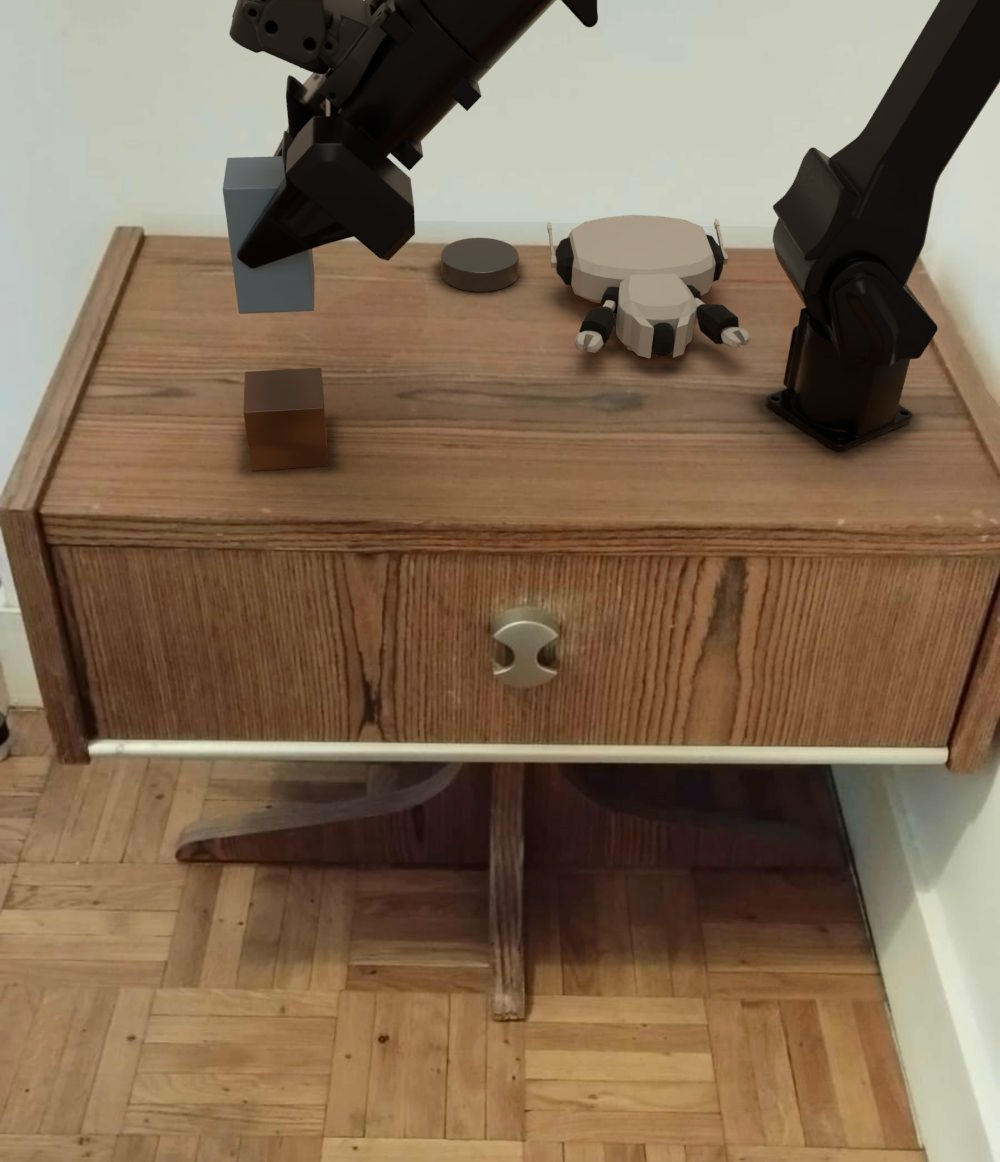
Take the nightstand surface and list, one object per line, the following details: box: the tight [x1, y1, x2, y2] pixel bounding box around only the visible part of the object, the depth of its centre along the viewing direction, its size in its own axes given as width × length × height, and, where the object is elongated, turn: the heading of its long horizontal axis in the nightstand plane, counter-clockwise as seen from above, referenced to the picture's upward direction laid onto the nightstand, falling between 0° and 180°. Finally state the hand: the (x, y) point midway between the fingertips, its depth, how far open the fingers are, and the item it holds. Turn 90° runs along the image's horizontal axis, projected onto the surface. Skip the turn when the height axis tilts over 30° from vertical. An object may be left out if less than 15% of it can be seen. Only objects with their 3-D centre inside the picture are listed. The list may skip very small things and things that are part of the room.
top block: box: [222, 155, 315, 315], centre depth 68 cm, size 4×4×7 cm
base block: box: [243, 367, 329, 472], centre depth 75 cm, size 4×4×4 cm
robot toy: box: [546, 214, 751, 359], centre depth 87 cm, size 12×4×15 cm
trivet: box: [440, 237, 520, 293], centre depth 93 cm, size 6×6×2 cm
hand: (245, 243), depth 68 cm, fingers closed on top block, 4 cm apart
